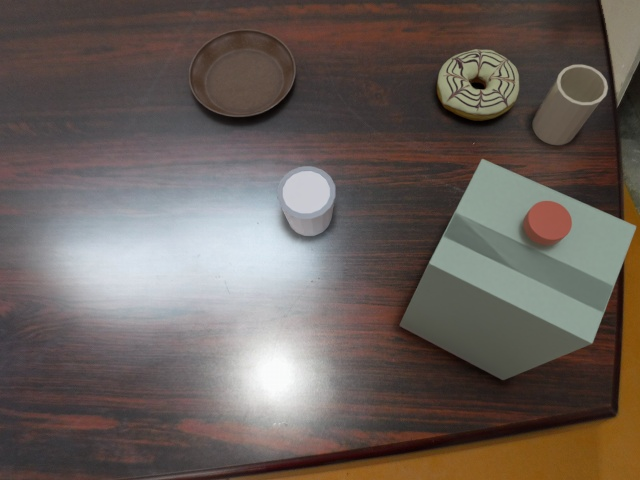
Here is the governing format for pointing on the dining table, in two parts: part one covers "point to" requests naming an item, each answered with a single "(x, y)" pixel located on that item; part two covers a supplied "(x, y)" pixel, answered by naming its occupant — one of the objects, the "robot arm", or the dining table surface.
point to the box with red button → (516, 277)
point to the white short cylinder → (307, 199)
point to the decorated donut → (482, 69)
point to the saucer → (242, 73)
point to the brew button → (547, 223)
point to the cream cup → (569, 104)
